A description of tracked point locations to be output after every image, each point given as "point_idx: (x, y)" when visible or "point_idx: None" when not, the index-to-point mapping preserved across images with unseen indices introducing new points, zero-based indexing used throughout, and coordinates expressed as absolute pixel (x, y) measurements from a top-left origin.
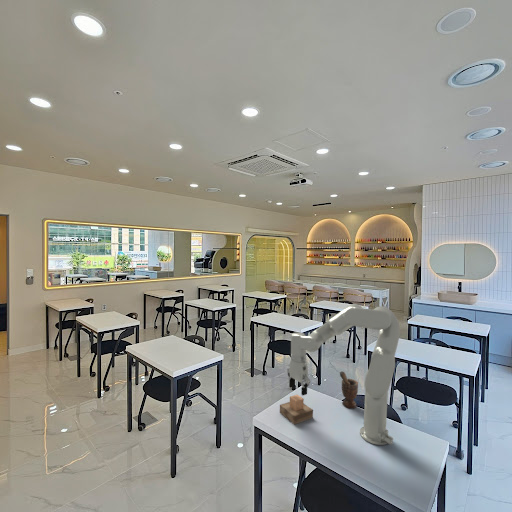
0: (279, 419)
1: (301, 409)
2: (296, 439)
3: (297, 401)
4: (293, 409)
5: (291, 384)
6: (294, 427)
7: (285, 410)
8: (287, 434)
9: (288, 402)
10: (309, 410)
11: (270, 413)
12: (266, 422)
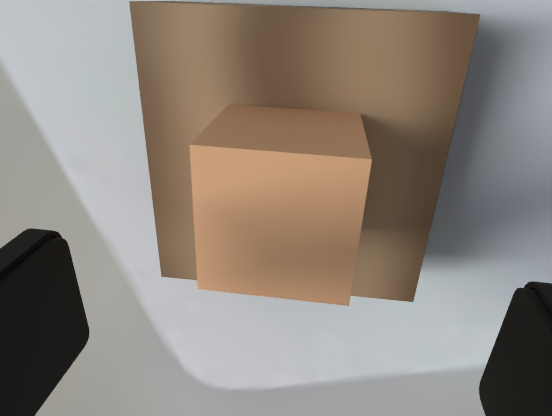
0: None
1: None
2: None
3: (352, 272)
4: None
5: (43, 366)
6: (430, 277)
7: None
8: (452, 363)
9: (156, 175)
10: (451, 75)
11: (169, 297)
12: (256, 377)
